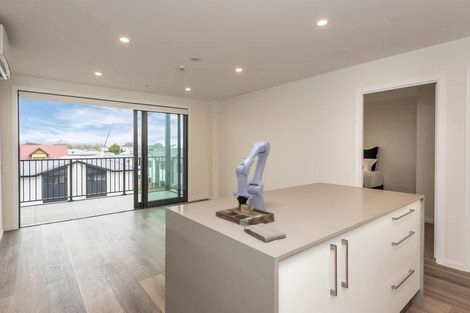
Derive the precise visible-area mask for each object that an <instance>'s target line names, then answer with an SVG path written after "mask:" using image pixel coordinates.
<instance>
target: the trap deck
mask: <svg viewBox="0 0 470 313" xmlns="http://www.w3.org/2000/svg"><path fill="white" fill-rule="evenodd" d="M237 206H238V207H232V208H228V209H223V210H218V211H215V217H218V218H220V219H223V220H226V221H228V222H230V223H231V222H232V223H234V224H237V225H240V226H243V227H245V226H249V225H257V224H260V223H264V224H266V225H267V224H269V223H272V222H275V213H274V212H269V211H266V210H263V211H262V210H259V209H255V208H253V212H252V213H243V212H241V209H240V205H239V204H238V205H237Z"/></svg>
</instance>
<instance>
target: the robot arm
mask: <svg viewBox="0 0 470 313" xmlns="http://www.w3.org/2000/svg"><path fill="white" fill-rule="evenodd" d="M270 150H271V143H270V142H269V141H267V140H266V141H254V142H253V143H252V149H251V150H250V152H249V155H246V156H245V157H244V158H243V160H242V162H241V163H240V164H239V165H237V166H236V168H235V174H236V179H237V191H233V193H232V194H233V196H236V200H237V202H238V205H240V209H241V205H243V204H247V202H248V204H251V205H253V208H255V209H259V210H262V211H266V209H265V198H264V196H263V195H264V184H263V183H262V179H263V175H264V170H265V168H266V167H265V166H266V163H267V159H268V156H269V155H270V152H271V151H270ZM256 157H258V158H257V162H256V166H255V170H254V174H253V177H252V180H250V181H248V175H249V174H250V171H251V167H252V166H253V164H254V162H255V160H254V159H255V158H256ZM237 196H238V197H237Z"/></svg>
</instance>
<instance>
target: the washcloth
mask: <svg viewBox="0 0 470 313" xmlns="http://www.w3.org/2000/svg"><path fill="white" fill-rule="evenodd" d="M243 231H244V232H245V233H246V234H248V235H250V236H252V237H253V238H255V239H257V240H259V241H261V242H263V243H267V242H272V241H276V240H281V239H285V238H286V237H287V234H286V233H285V232H283V231H281V230H279V229H277V228H275V227H273V226H270V225H268V224H267V223H266V224H264V223H260V224H257V225H249V226H243Z"/></svg>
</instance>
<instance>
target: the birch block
mask: <svg viewBox="0 0 470 313" xmlns="http://www.w3.org/2000/svg"><path fill="white" fill-rule="evenodd" d="M241 212H243V213H252V212H253V205H251V204H249V203H246V204H243V205H241Z"/></svg>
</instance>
